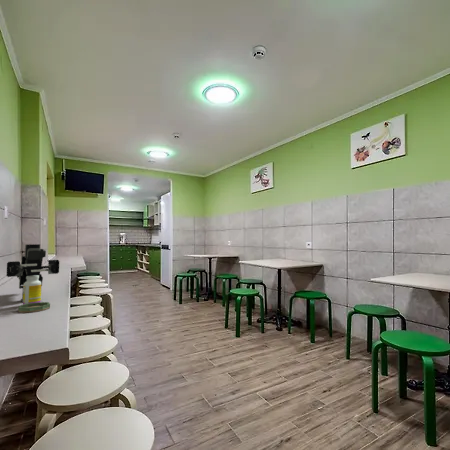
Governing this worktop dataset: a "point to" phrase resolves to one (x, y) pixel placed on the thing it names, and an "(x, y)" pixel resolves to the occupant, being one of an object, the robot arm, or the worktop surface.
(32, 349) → the worktop surface
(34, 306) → the coaster ring
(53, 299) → the worktop surface
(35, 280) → the supplement bottle
